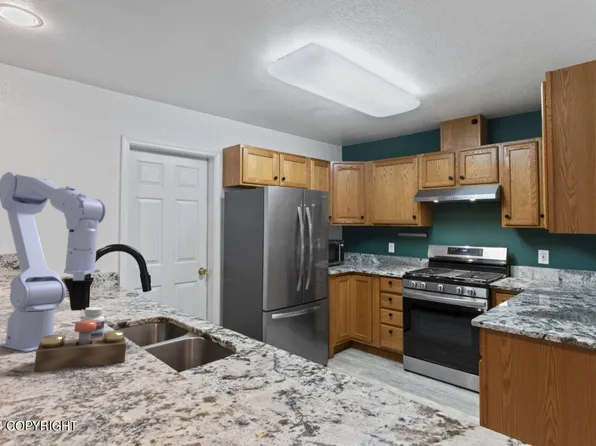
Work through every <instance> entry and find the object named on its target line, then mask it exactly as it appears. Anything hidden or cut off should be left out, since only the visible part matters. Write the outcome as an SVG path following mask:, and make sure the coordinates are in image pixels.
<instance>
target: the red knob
mask: <svg viewBox="0 0 596 446" xmlns="http://www.w3.org/2000/svg"><path fill="white" fill-rule="evenodd" d="M96 324H97V322H96V321H92V320H86V321H81V320H79V321H76V322H75V324H74V332H76V333H78V339H79V340H78V345H87V344H90V337H91V331H94V330H96Z"/></svg>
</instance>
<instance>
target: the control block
mask: <svg viewBox="0 0 596 446" xmlns="http://www.w3.org/2000/svg"><path fill="white" fill-rule="evenodd" d="M78 340H79V338H78V339H65V344H64V345H62V346H59V347H51V348H46V347H42V346H41V344H42V342H41V343H40V345H39V347H38V349H37V350H35V358H34V367H33V373H39V372H49V371H50V372H51V371H58V370H66V369H75V368H84V367H85V368H86V367H92V366H93V367H95V366H102V365H112V364H120V363H121V364H122V363H125V360H126V349H127V342H126V339H125V336H124V335H123V340H122V341H119V342H111V343H107V342H103V337H101V338H90V344H87V345H78Z"/></svg>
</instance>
